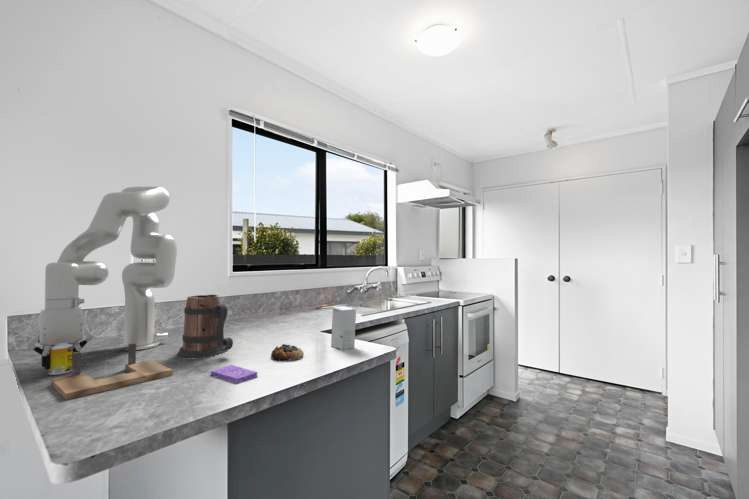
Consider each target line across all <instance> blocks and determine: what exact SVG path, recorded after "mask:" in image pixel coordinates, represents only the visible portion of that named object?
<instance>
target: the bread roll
mask: <svg viewBox="0 0 749 499" xmlns="http://www.w3.org/2000/svg"><path fill="white" fill-rule="evenodd" d="M270 355H271V356H270V357H271V359H272V360H273V361H277V362H279V361H280V362H288V361H289V360H290V361H297V360H300V359H299V358H301V359H302V358H303V356H304V351H303V350H302V348H301V347H297V346H295V345H290V344H286V343H285V344H284V343H283V344H281V346H278V345H277V346H276V347H274V349H273V350H272V351H271V354H270Z"/></svg>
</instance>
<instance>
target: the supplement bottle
mask: <svg viewBox="0 0 749 499" xmlns="http://www.w3.org/2000/svg"><path fill="white" fill-rule="evenodd" d="M73 348H74V347H73V343H71V342H70V343H60V344H56V345H51V347H50V350H49V352H48V355H49V356H50V369H49V370H47V372H48V374H49V376H60V375H65V374H69V373H72V353H73Z"/></svg>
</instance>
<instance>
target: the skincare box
mask: <svg viewBox="0 0 749 499" xmlns="http://www.w3.org/2000/svg"><path fill="white" fill-rule="evenodd" d="M331 315H332V316H331V317H332V319H331V321H332V322H331V337H330V338H331V339H330V345H331V347H335V348H336V349H339V350H341V351H344V350H349V348H351V349H354V348H355V339H356V319H357V318H356V316H357V309H355V308H352V307H350V306H349V307H348V306H345V305H344V306H332V314H331Z"/></svg>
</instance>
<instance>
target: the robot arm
mask: <svg viewBox="0 0 749 499" xmlns="http://www.w3.org/2000/svg"><path fill="white" fill-rule="evenodd" d="M170 198H171V197H170V194H169V192H168V190H166V189H165V188H164V187H161V186H129V187H125V188H123V189H121V192H120V191H117V192H110V193H107V194H105V195H104V196H103V197H102V199H101V201H100V203H99V205H98V208H97V209H96V212H95V213H94V216H93V218H92V220H91V222H90V224H89V226H88V228H86V230H85V231H83V232H82V233H80V234H79V235H78V236H77V237H75V238H74V239H73V240H72V241H71V242H69V243H68V244H67V245H65V247H64V249H63V250H62V252H61V253H60V256H59V258H58V259H57V261H56V262H49V263H48V264H46V266H45V273H44V275H45V276H44V277H45V280H44V309H41V310H40V313H39V317H38V322H37V333H36V335H34V336H33V337H32V338H31V339H30V340H29V341H28V342H27V343H25V347H27V348H28V349H30V350H32V351H34V352H36V353H37V354H39V355H41V368H44V369H45V371H48V370H49V369H50V356H49V350H50V347H51V345H56V344H60V343H73V352H81V350H82V348H84V347H85V346H86V345H87V344H88V342H90V341H91V340H92V339H94V335H93V334H92V333H90V332H89V331H88V330H86V329H85V326H84V317H83V311H82V307H80V305H82V304H85V299H84V298H80V297H79V286H96V285H100V284H102V283H104V282H105V281H106V280H107V279H108V278H109V269H108V266H106V265H105V264H104V263H102V262H99V261H94V260H93V261H92V260H91V261H89V260H88V261H87V260H86V261H85V259H86V257H88V255H89V254H90V253H92V252H94V251H96V250H97V249H99V248H102V247H104V246H106V245H108V244H111V243H113V242H115V241H117V240H118V238H119V237H120V234H121V232H122V229H123V227H124V224H125V222H126V220H127V218H129V217H130V218H132V232H131V240H130V254H131V255H132V257H134V258H136V259H140V260H141V259H142V260H155V262H148V261H147V262H144V261H143V262H141V261H140V262H139V261H138V262H132V263H129V264H127V265H125V267H124V268H123V270H122V272H121V281H122V284H123V289H124V290H123V292H124V339H123V340H124V341H123V342H124V343H120V344H119V345H118V347H120V346H126V345H129V343H136V351H139V350H146V349H151V348H155V347H157V346H159V345H160V341H159V340H160V339H168V338H169V333H168V332H163V333H161V332H160V333H158V332H155V315H156V314H155V305H156V298H155V295H154V292H153V291H152V289H164V288H168V287H170V285H171V284H173V282H174V281H173V280H174V277H175V273H176V272H175V270H176V264H177V263H176V262H177V255H178V254H177V253H178V248H177V242H176V240H175V238H174V237H172V236H171V235H170V234H165V233H164V234H163V233H162V234H161V233H160V234H159V228H160V221H159V219H158V217H157V215H156V212H160V211H161V210H165V208H167V207H168V205H169V203H170ZM151 288H152V289H151ZM37 343H38V344H40V345H41V346H42V347H39V346H37V345H36V344H37ZM125 351H128V349H126V350H125Z"/></svg>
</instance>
